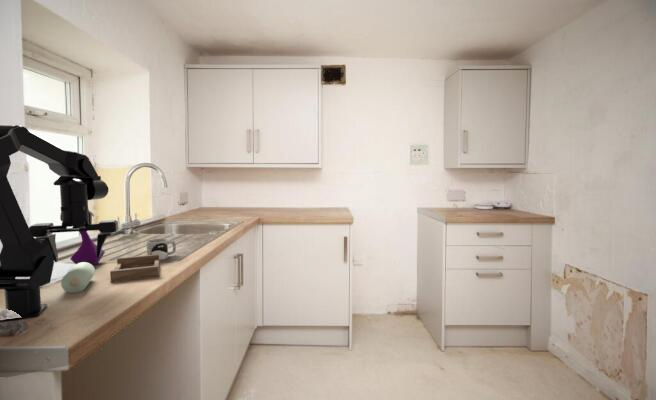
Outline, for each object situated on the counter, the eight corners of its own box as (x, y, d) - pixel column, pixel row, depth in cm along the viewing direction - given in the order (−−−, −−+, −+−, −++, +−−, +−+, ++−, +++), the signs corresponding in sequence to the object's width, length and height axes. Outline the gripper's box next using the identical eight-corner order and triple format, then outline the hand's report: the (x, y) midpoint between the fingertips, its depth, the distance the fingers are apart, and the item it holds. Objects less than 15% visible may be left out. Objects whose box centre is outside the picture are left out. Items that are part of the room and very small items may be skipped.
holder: (158, 276, 100) (157, 266, 100) (110, 281, 95) (110, 271, 95) (159, 262, 115) (158, 254, 115) (117, 266, 110) (117, 257, 109)
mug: (152, 262, 116) (151, 243, 115) (143, 259, 120) (143, 240, 119) (180, 256, 123) (179, 238, 123) (171, 253, 128) (171, 236, 127)
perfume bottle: (70, 268, 107) (66, 212, 106) (80, 262, 115) (77, 210, 113) (97, 267, 109) (94, 212, 108) (105, 261, 117) (103, 209, 115)
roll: (88, 291, 88) (86, 270, 88) (61, 294, 86) (60, 273, 85) (95, 279, 97) (94, 260, 97) (71, 282, 95) (70, 263, 94)
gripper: (119, 198, 101) (121, 250, 102) (39, 200, 93) (43, 256, 94) (114, 201, 91) (117, 258, 92) (24, 204, 83) (29, 266, 84)
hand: (77, 259), depth 91 cm, fingers open, 9 cm apart
